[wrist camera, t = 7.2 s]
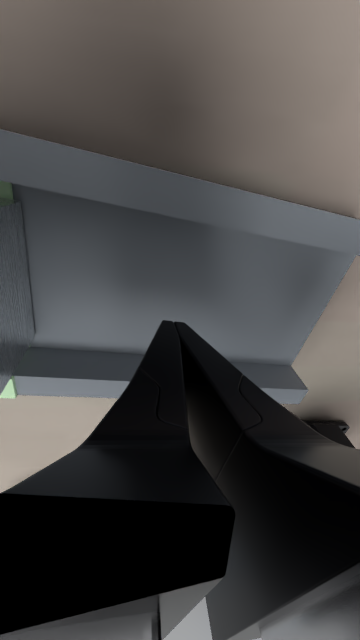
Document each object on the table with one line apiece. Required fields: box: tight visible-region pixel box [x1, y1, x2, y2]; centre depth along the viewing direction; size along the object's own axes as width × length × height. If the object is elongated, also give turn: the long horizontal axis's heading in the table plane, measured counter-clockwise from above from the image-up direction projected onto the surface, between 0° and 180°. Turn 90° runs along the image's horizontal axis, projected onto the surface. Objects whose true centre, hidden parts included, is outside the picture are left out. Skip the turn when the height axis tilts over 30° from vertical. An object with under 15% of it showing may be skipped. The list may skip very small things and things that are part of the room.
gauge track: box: [0, 129, 360, 404], centre depth 10 cm, size 10×23×5 cm, turn 77°
